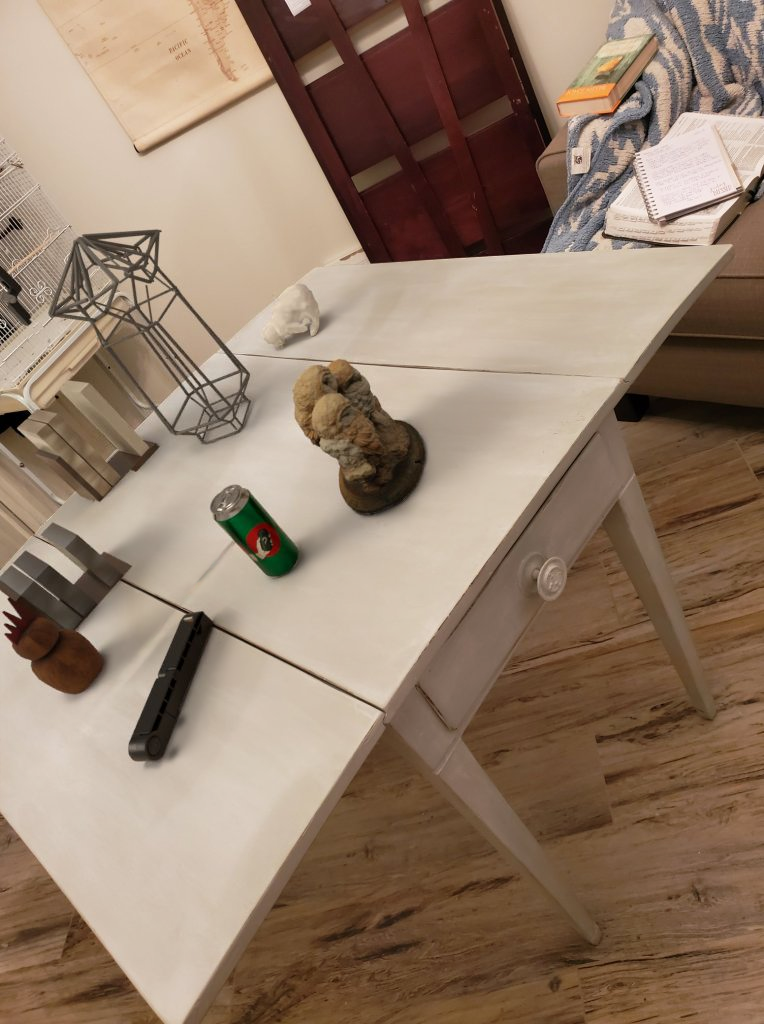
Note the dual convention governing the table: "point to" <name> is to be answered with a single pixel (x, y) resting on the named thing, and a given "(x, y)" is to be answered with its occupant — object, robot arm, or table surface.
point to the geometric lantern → (80, 274)
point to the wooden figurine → (53, 651)
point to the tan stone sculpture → (358, 436)
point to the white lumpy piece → (292, 314)
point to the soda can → (254, 530)
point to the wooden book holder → (78, 456)
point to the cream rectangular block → (104, 417)
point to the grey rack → (63, 580)
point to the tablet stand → (169, 688)
